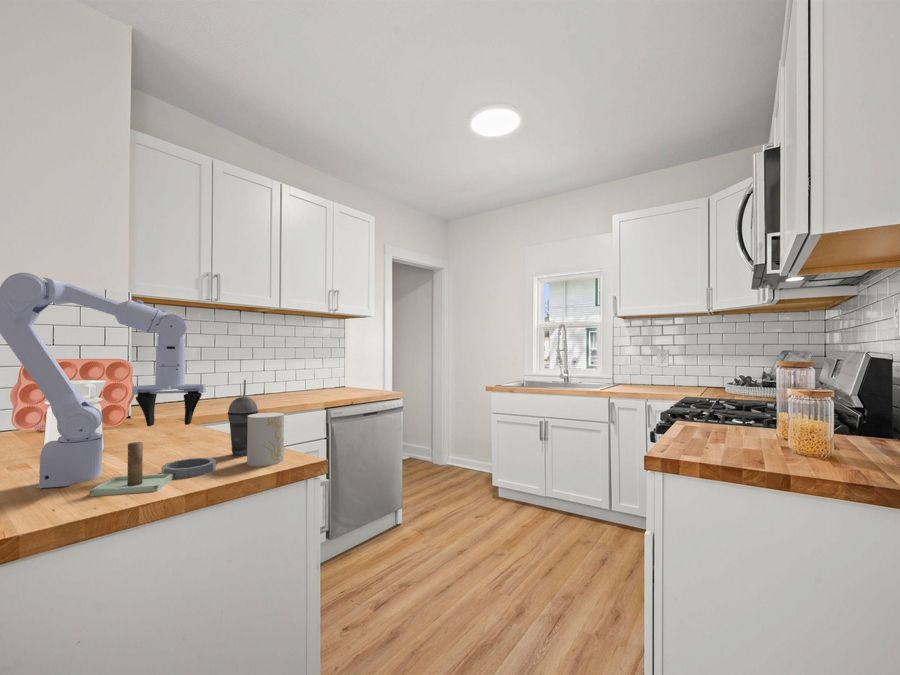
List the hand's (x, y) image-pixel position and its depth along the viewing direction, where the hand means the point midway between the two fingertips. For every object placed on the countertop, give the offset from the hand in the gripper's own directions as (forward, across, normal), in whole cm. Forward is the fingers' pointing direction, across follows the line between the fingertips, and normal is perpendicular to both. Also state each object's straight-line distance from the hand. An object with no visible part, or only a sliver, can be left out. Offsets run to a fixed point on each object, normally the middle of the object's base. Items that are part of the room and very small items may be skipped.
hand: (169, 424), depth 101 cm
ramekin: (+10, +6, -6) cm, 13 cm away
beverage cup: (+11, +14, +9) cm, 20 cm away
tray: (+10, -1, -15) cm, 18 cm away
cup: (+11, +21, -1) cm, 24 cm away
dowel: (+9, -1, -15) cm, 18 cm away
